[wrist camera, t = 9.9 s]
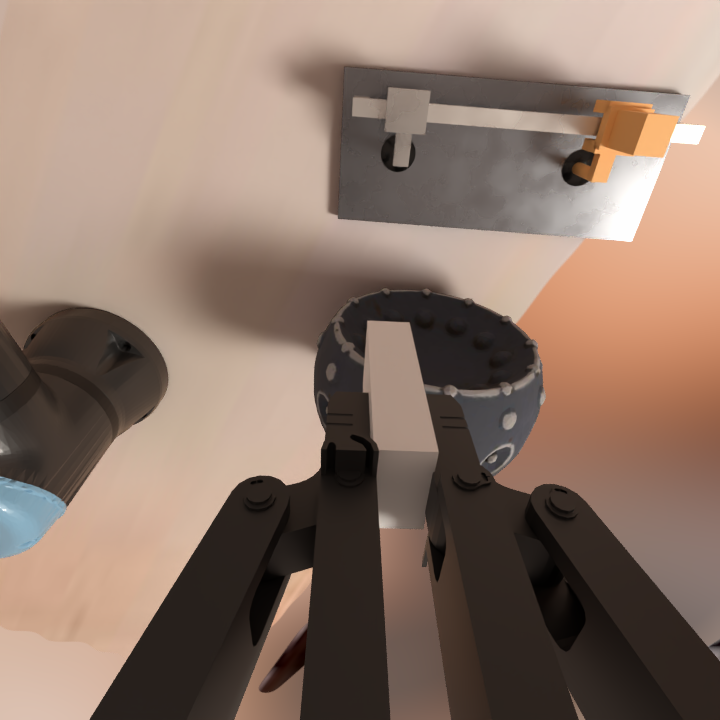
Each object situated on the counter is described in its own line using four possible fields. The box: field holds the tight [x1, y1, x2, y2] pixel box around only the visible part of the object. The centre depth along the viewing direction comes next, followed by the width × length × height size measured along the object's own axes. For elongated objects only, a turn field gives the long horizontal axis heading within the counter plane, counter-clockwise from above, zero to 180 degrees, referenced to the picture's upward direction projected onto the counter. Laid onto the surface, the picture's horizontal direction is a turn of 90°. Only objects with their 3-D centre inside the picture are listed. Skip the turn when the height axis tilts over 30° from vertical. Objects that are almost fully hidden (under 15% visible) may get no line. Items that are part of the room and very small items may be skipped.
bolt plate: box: [338, 67, 690, 241], centre depth 40 cm, size 28×12×1 cm, turn 86°
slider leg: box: [572, 100, 680, 183], centre depth 33 cm, size 3×6×10 cm, turn 176°
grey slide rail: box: [352, 87, 705, 167], centre depth 36 cm, size 26×5×7 cm, turn 86°
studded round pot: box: [314, 288, 546, 476], centre depth 41 cm, size 11×20×20 cm, turn 83°
